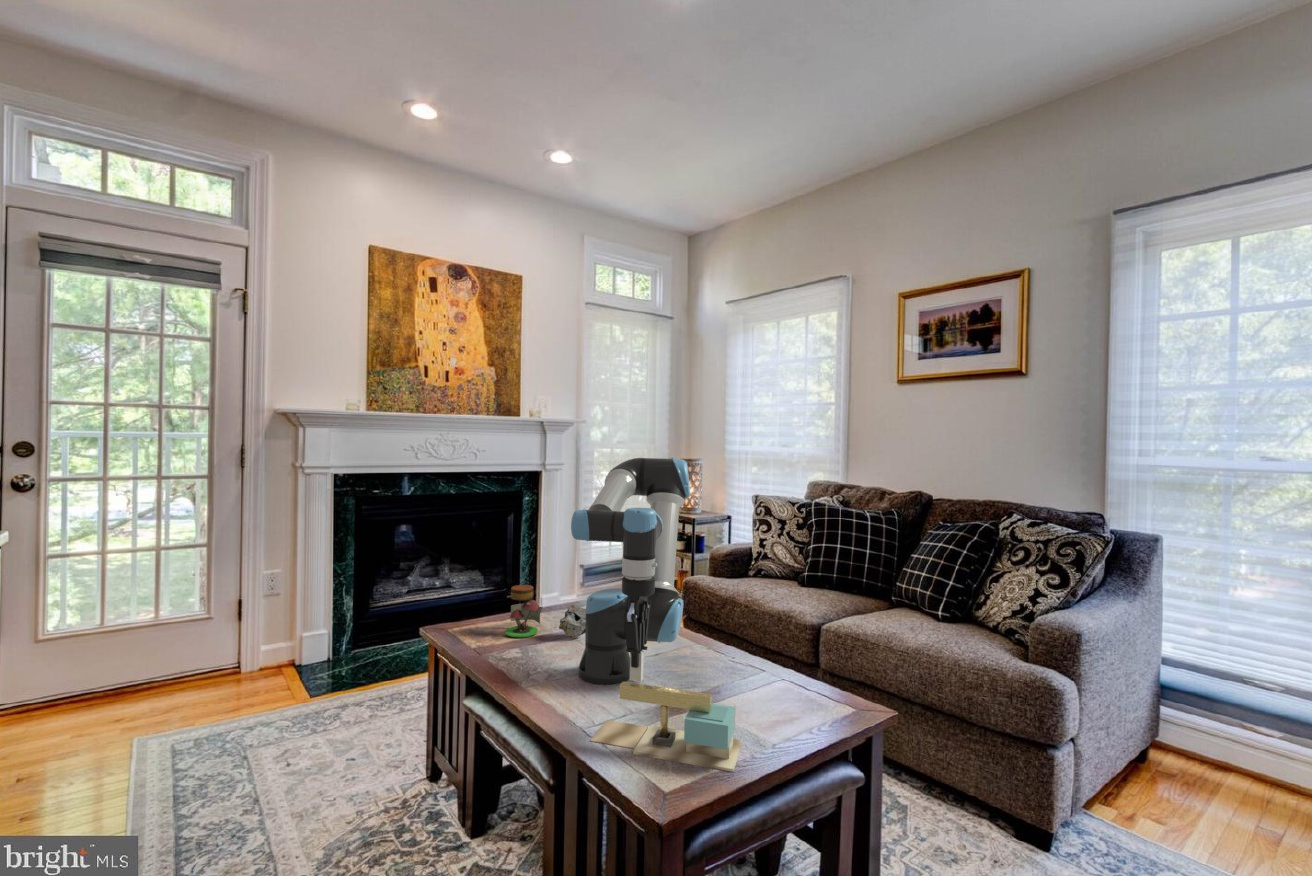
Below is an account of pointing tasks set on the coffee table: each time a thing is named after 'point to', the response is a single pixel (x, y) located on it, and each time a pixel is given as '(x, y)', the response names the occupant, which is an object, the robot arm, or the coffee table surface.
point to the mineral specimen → (574, 621)
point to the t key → (666, 699)
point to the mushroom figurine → (523, 612)
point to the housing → (687, 750)
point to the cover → (710, 726)
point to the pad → (619, 734)
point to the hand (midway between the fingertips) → (636, 679)
